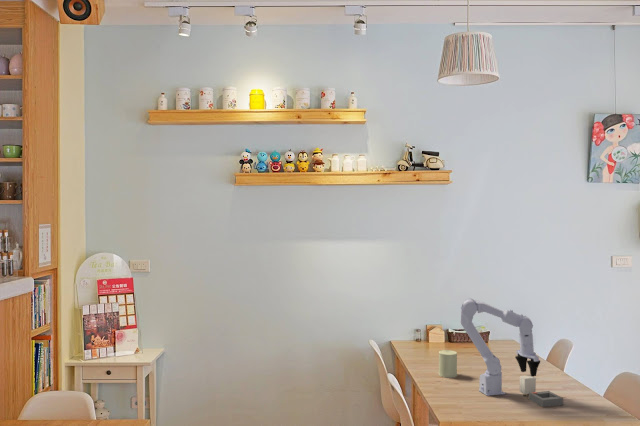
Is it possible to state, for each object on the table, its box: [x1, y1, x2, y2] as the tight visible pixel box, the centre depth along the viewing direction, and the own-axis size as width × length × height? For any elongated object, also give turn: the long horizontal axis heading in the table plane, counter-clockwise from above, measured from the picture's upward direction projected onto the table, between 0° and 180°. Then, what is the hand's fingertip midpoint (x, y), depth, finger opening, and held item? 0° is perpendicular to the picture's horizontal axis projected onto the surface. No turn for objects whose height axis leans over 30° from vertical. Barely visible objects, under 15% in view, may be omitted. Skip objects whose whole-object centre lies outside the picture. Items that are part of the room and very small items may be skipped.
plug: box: [519, 374, 537, 397], centre depth 269 cm, size 4×6×8 cm
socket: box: [528, 390, 564, 408], centre depth 259 cm, size 10×10×3 cm
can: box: [438, 349, 458, 379], centre depth 300 cm, size 9×9×12 cm
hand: (528, 373), depth 269 cm, fingers open, 7 cm apart
